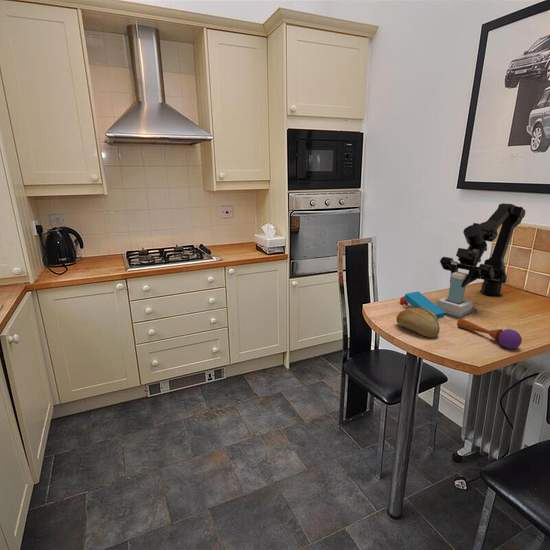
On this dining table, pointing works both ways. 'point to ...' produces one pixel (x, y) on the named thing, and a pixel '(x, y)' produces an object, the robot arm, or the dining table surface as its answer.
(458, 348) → the dining table surface
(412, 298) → the blue long block
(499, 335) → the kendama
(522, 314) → the dining table surface
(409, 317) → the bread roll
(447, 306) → the board
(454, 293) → the box with white lid
